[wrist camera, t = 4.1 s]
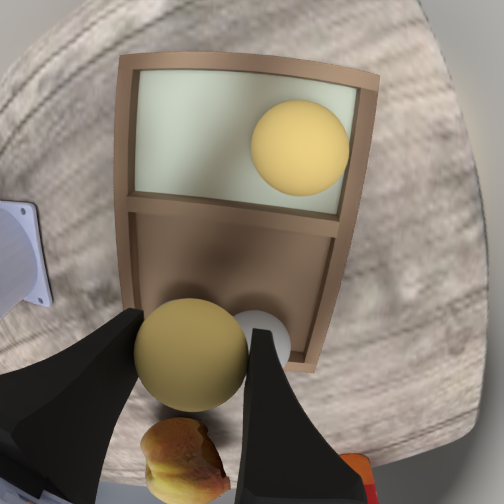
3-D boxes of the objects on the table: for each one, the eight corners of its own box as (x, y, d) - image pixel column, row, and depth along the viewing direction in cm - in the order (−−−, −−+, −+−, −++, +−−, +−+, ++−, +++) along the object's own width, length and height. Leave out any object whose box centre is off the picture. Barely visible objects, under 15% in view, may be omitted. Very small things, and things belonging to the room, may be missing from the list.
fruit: (185, 386, 23) (156, 474, 16) (258, 435, 25) (249, 515, 18) (135, 413, 25) (106, 483, 18) (202, 455, 28) (187, 522, 20)
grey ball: (240, 326, 21) (207, 374, 18) (239, 285, 18) (198, 338, 15) (297, 351, 19) (268, 404, 17) (306, 312, 16) (273, 374, 14)
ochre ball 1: (159, 349, 13) (126, 417, 10) (153, 269, 12) (105, 335, 8) (249, 365, 13) (236, 442, 10) (260, 286, 12) (247, 364, 8)
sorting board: (136, 330, 21) (127, 345, 19) (132, 58, 14) (117, 54, 12) (312, 357, 20) (314, 375, 19) (371, 78, 13) (381, 74, 12)
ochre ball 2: (250, 178, 15) (240, 201, 12) (259, 96, 14) (251, 90, 10) (332, 190, 15) (348, 216, 12) (345, 109, 13) (367, 109, 10)
